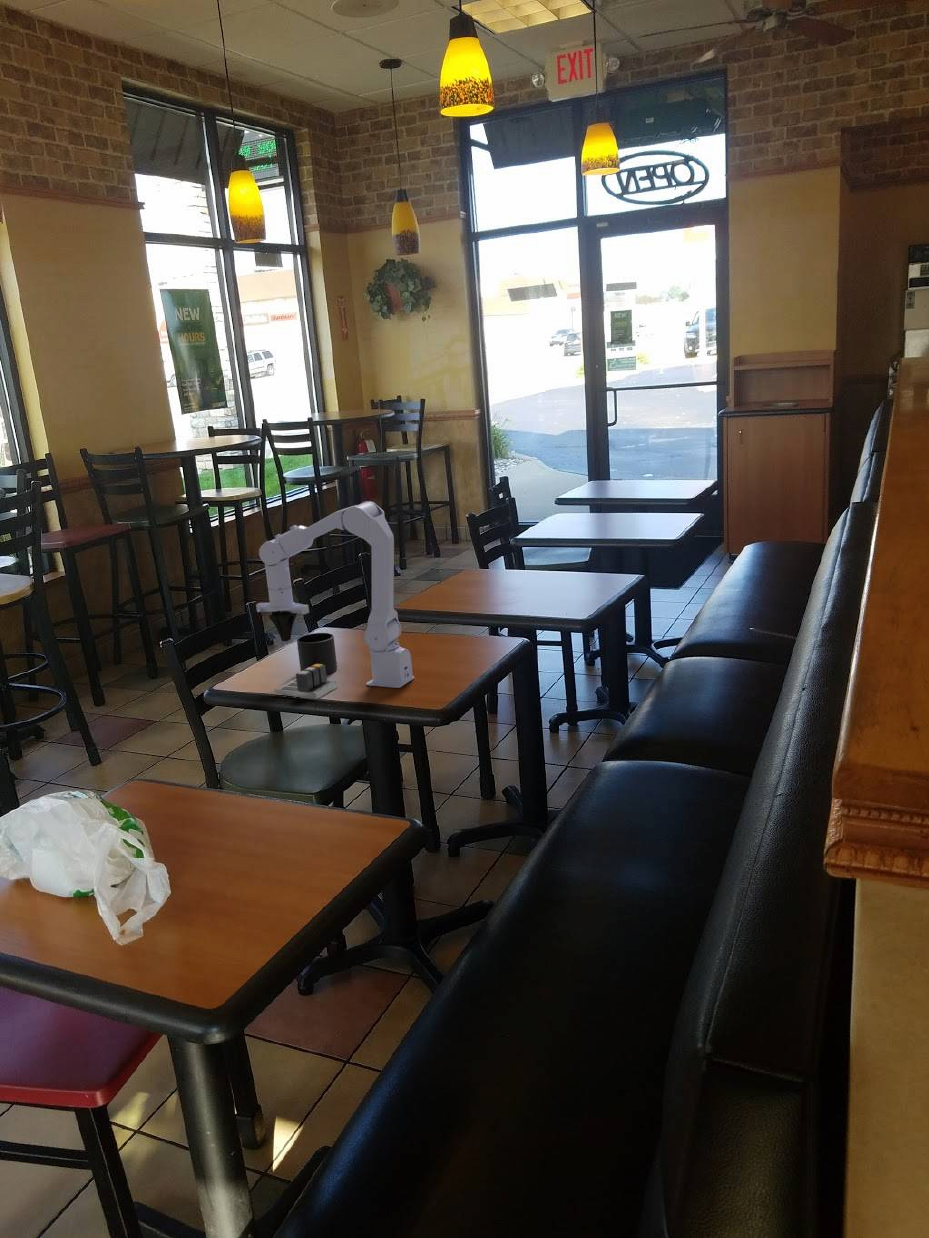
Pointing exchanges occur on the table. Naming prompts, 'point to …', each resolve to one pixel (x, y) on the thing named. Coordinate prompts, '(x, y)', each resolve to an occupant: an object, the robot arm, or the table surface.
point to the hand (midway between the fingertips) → (286, 640)
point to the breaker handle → (321, 672)
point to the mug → (317, 651)
